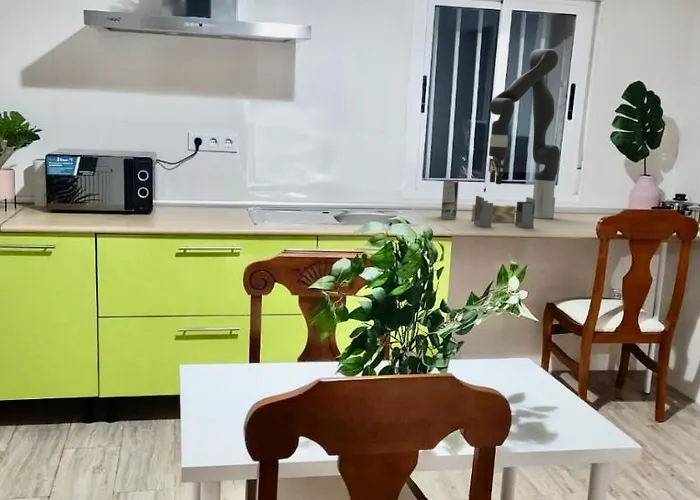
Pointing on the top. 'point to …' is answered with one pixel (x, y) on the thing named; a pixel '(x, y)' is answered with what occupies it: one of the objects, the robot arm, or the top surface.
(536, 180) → the robot arm
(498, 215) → the rail
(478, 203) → the bracket
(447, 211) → the coffee box
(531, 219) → the bracket
